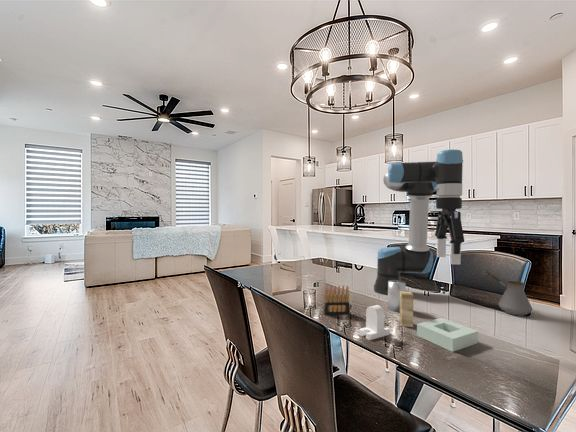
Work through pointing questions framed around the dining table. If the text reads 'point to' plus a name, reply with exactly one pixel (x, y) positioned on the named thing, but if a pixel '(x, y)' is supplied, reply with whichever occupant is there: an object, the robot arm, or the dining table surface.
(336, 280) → the dining table surface
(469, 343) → the socket block
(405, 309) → the oak square bit
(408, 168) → the robot arm
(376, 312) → the cable organizer
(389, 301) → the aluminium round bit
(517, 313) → the coffee pot
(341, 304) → the ammunition clip
